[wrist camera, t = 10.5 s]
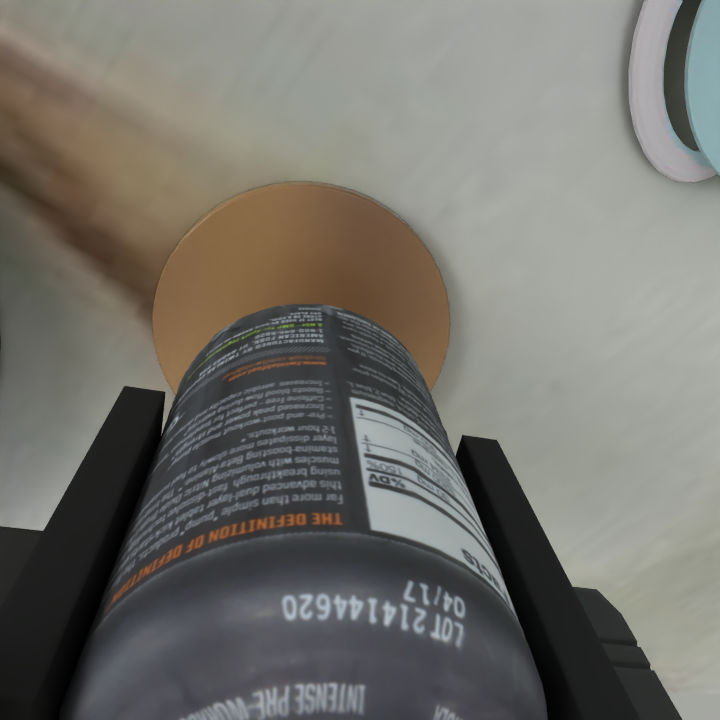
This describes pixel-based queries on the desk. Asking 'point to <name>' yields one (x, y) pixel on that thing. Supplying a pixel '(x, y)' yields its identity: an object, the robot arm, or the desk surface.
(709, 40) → the pacifier
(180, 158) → the desk surface
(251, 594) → the pill bottle
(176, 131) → the desk surface
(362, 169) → the desk surface
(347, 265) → the coaster
